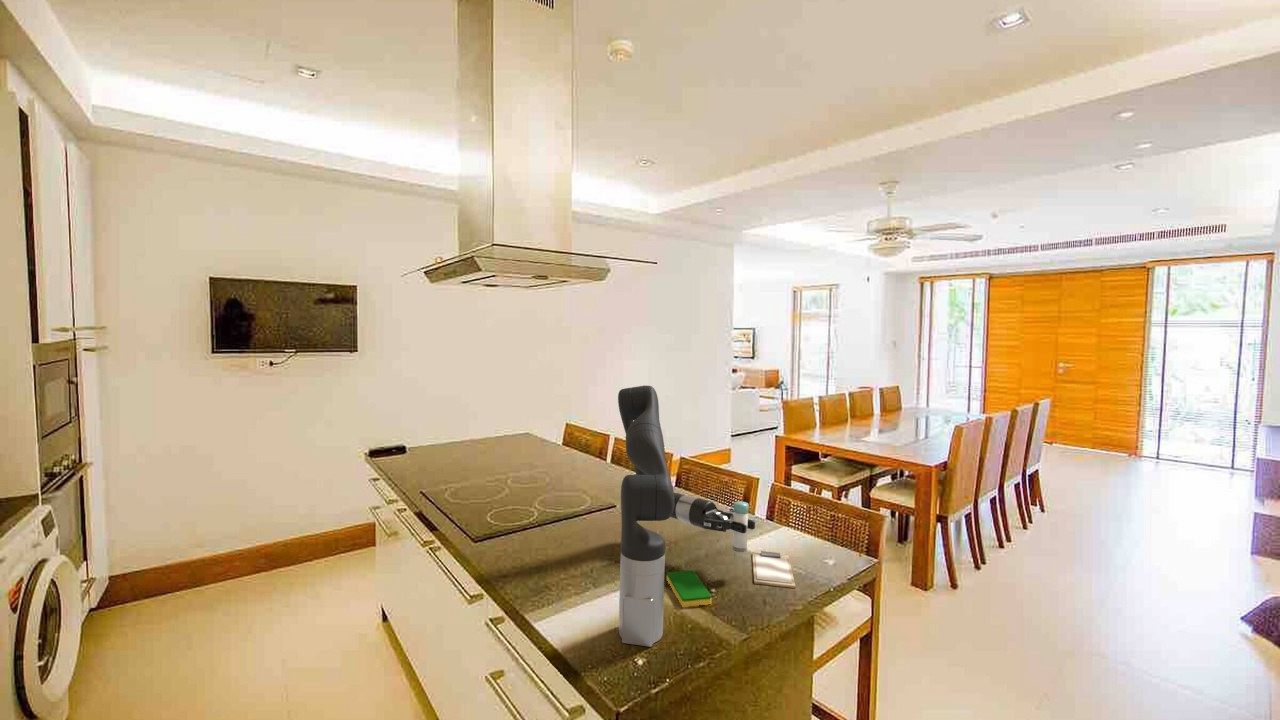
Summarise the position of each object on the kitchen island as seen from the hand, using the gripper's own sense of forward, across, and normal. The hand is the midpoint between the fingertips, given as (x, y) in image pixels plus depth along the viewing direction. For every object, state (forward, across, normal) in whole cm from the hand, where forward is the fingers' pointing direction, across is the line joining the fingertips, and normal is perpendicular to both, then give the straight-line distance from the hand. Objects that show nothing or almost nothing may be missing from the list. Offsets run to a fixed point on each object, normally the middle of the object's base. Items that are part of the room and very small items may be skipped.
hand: (749, 527), depth 134 cm
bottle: (-3, 0, +6) cm, 7 cm away
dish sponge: (-7, -16, +14) cm, 23 cm away
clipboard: (+2, +10, +13) cm, 17 cm away
